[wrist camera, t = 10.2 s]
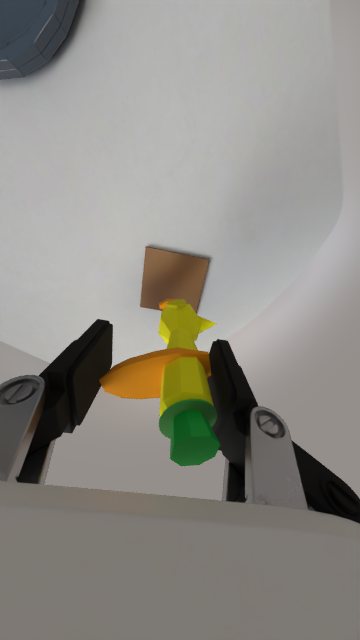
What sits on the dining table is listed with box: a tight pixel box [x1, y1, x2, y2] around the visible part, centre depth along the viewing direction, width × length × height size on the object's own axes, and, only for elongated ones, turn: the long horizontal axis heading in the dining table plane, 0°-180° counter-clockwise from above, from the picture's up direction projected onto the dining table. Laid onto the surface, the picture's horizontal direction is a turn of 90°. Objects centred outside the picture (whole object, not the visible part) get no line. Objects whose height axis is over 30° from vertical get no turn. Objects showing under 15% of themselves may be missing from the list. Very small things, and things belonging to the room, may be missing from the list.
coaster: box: [140, 247, 209, 313], centre depth 23 cm, size 8×8×1 cm
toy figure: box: [99, 299, 220, 466], centre depth 11 cm, size 7×4×12 cm, turn 100°
